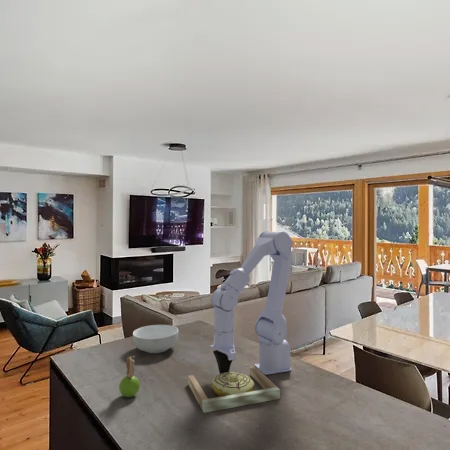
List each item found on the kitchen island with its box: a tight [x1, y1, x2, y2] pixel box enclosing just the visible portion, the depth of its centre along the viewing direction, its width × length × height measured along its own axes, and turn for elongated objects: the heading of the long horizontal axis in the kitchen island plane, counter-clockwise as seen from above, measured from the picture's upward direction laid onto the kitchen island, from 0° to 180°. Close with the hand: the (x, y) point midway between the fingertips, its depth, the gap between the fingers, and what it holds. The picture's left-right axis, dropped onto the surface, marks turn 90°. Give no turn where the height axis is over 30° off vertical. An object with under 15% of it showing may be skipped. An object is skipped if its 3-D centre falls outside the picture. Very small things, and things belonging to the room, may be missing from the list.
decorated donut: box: [211, 371, 255, 397], centre depth 100 cm, size 11×12×4 cm
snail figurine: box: [118, 355, 141, 398], centre depth 97 cm, size 5×6×12 cm
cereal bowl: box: [132, 324, 179, 354], centre depth 133 cm, size 17×17×7 cm
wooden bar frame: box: [187, 365, 281, 413], centre depth 100 cm, size 21×16×2 cm
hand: (224, 375), depth 106 cm, fingers closed
